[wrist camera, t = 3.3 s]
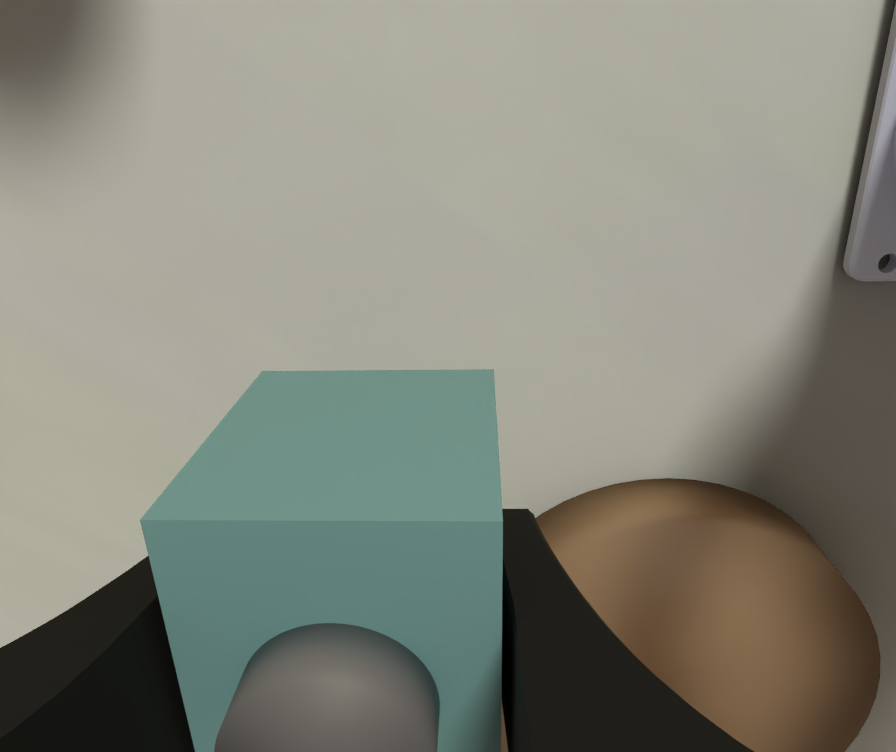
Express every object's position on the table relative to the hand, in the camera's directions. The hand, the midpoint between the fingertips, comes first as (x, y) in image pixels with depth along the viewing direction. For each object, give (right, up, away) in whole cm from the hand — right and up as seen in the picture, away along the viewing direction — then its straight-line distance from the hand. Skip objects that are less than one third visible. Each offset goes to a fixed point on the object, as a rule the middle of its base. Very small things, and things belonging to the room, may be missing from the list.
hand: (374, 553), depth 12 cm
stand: (+9, -6, +11) cm, 15 cm away
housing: (0, +1, +2) cm, 2 cm away
